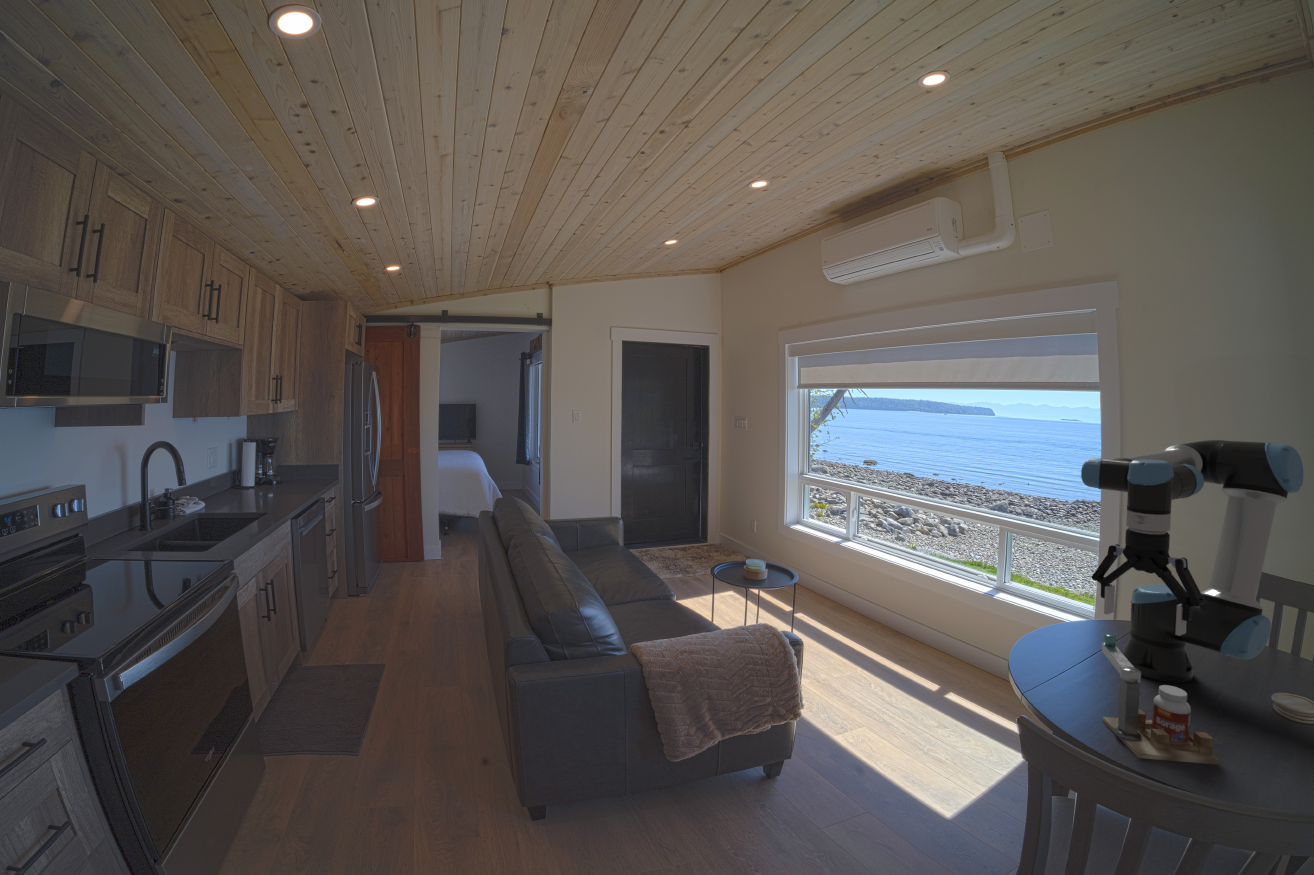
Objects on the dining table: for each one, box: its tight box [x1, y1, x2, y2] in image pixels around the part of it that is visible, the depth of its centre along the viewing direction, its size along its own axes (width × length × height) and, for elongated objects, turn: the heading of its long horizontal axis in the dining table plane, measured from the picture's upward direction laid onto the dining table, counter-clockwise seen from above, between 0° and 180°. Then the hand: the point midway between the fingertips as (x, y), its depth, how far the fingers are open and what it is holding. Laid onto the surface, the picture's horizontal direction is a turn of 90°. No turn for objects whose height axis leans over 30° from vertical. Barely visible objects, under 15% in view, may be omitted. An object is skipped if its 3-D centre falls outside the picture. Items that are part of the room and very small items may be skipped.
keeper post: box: [1113, 677, 1141, 741], centre depth 132 cm, size 5×5×12 cm
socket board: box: [1102, 708, 1219, 765], centre depth 131 cm, size 15×14×4 cm
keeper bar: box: [1101, 633, 1142, 684], centre depth 136 cm, size 16×4×4 cm, turn 159°
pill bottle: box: [1151, 684, 1192, 745], centre depth 130 cm, size 6×6×11 cm
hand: (1143, 623), depth 133 cm, fingers open, 13 cm apart
